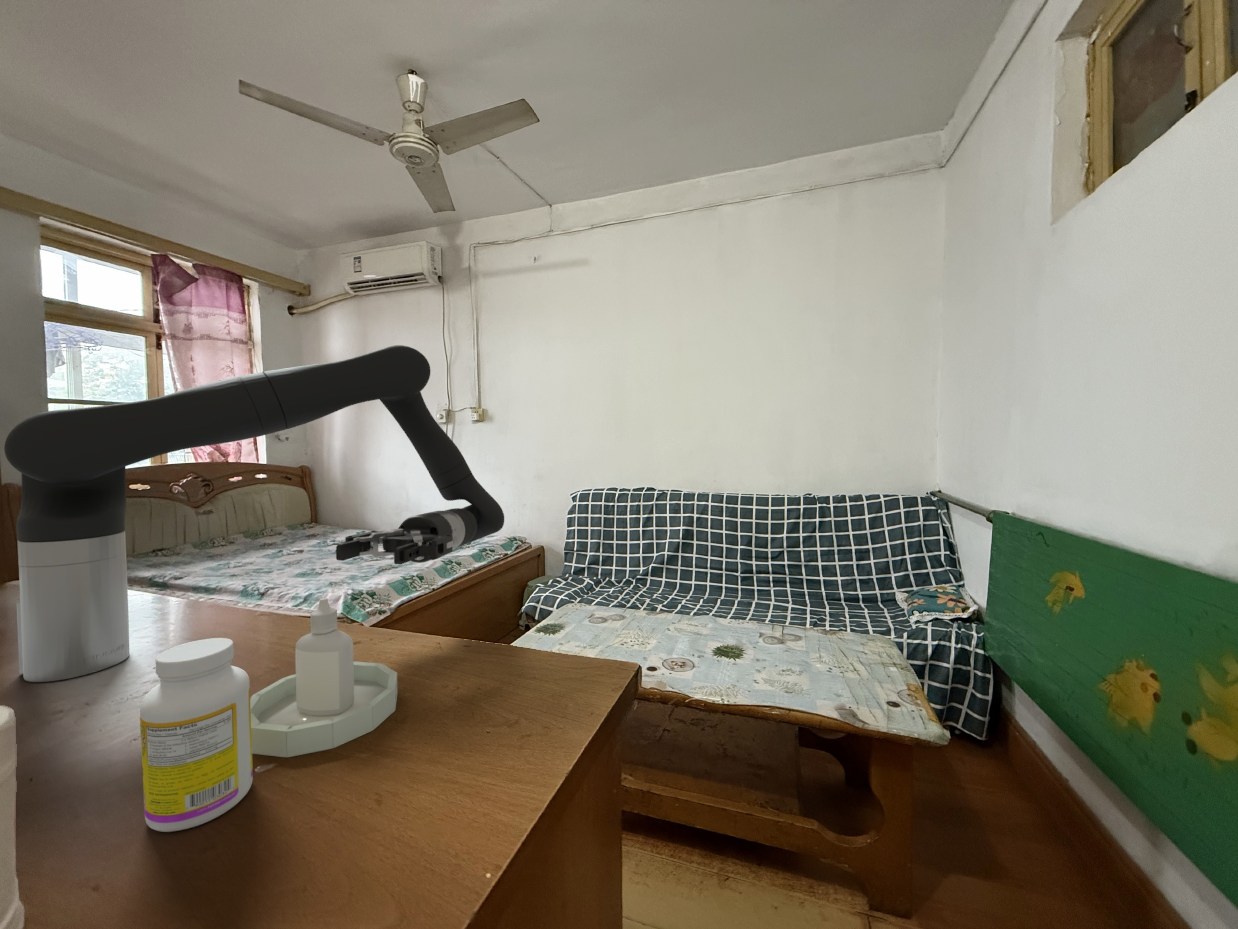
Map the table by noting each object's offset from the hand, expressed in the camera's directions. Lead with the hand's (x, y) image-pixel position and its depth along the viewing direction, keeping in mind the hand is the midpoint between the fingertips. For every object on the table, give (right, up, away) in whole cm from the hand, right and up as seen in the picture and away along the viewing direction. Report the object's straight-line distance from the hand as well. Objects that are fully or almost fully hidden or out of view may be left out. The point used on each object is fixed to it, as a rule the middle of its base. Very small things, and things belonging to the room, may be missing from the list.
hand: (367, 554), depth 63 cm
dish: (+2, -15, -12) cm, 19 cm away
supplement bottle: (-1, -16, -25) cm, 29 cm away
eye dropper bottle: (+2, -15, -12) cm, 19 cm away
